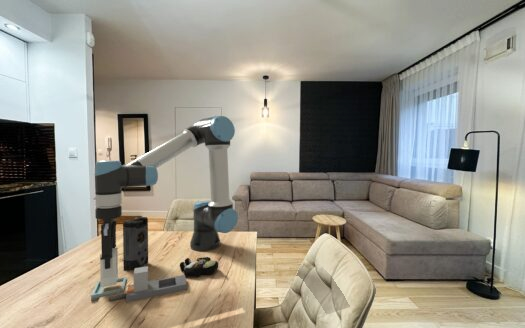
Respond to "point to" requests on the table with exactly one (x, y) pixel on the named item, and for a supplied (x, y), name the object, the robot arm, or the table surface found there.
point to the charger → (113, 279)
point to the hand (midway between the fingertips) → (109, 273)
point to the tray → (98, 291)
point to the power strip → (151, 286)
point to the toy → (198, 267)
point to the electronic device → (135, 243)
